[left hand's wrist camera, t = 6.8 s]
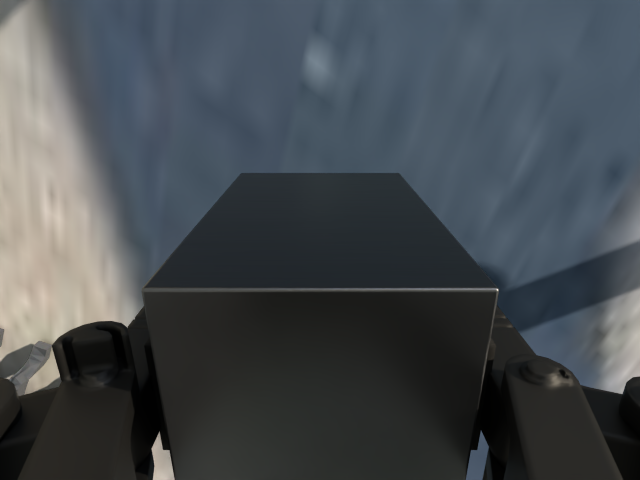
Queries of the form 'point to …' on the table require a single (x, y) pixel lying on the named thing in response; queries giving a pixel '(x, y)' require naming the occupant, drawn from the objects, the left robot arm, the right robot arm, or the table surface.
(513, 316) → the table surface
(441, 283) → the bar
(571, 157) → the table surface
